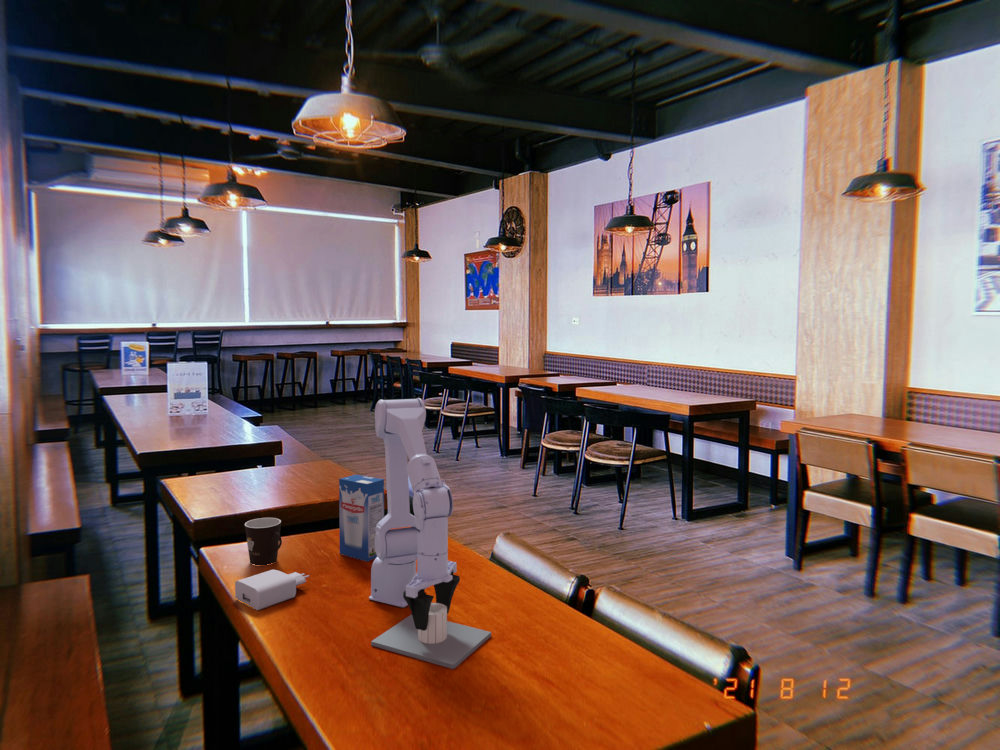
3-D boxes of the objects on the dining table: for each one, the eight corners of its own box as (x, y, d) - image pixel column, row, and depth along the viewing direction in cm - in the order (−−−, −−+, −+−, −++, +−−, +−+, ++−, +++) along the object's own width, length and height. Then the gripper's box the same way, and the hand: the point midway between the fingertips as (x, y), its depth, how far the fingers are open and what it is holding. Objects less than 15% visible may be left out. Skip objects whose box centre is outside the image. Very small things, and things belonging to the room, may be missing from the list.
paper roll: (412, 639, 124) (412, 611, 123) (428, 627, 129) (428, 600, 128) (436, 646, 121) (436, 617, 121) (452, 634, 126) (452, 606, 126)
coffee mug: (244, 558, 168) (243, 520, 167) (279, 553, 172) (278, 516, 171) (247, 574, 157) (246, 533, 157) (285, 568, 161) (284, 528, 160)
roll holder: (371, 645, 123) (371, 628, 123) (414, 616, 135) (414, 600, 135) (453, 669, 115) (453, 651, 115) (491, 636, 127) (491, 619, 127)
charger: (318, 590, 149) (258, 612, 137) (294, 580, 155) (235, 600, 143) (318, 569, 148) (258, 590, 137) (294, 560, 154) (234, 579, 143)
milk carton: (384, 554, 172) (384, 479, 170) (367, 561, 167) (367, 483, 165) (356, 547, 177) (356, 474, 176) (339, 554, 172) (338, 478, 170)
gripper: (429, 566, 116) (428, 641, 117) (470, 543, 128) (469, 610, 129) (396, 560, 119) (396, 632, 120) (439, 537, 132) (439, 603, 133)
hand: (432, 620), depth 125 cm, fingers open, 7 cm apart
